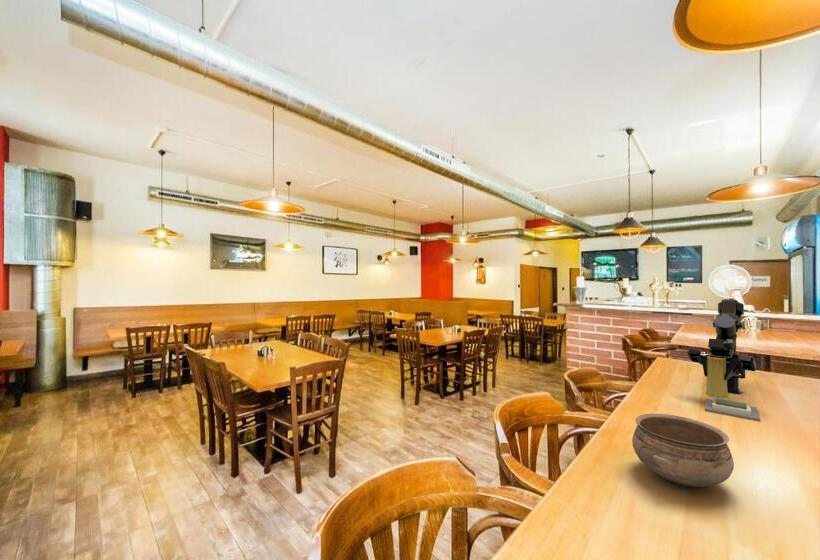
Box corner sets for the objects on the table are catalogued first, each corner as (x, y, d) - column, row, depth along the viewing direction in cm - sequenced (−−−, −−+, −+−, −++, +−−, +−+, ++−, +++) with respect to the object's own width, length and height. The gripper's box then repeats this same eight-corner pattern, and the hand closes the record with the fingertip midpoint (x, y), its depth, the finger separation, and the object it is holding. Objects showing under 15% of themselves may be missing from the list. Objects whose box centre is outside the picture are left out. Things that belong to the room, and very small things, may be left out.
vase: (719, 393, 130) (719, 355, 130) (732, 398, 124) (732, 358, 124) (701, 392, 131) (701, 354, 131) (714, 398, 125) (713, 358, 125)
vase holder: (706, 400, 135) (706, 394, 135) (756, 409, 126) (756, 403, 126) (704, 411, 125) (704, 404, 125) (760, 421, 115) (760, 414, 115)
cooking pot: (654, 448, 98) (654, 404, 98) (747, 479, 82) (746, 428, 82) (612, 478, 83) (612, 427, 83) (715, 523, 68) (715, 460, 68)
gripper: (688, 327, 137) (678, 359, 131) (754, 333, 122) (745, 370, 116) (696, 345, 142) (686, 376, 136) (760, 353, 127) (752, 389, 120)
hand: (715, 377), depth 127 cm, fingers closed on vase, 5 cm apart
